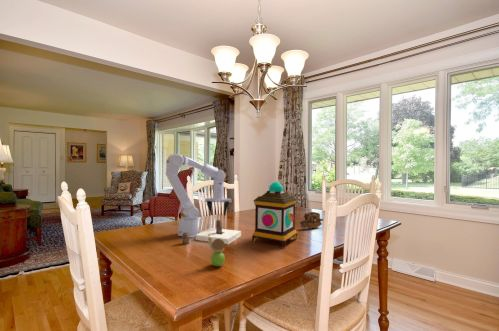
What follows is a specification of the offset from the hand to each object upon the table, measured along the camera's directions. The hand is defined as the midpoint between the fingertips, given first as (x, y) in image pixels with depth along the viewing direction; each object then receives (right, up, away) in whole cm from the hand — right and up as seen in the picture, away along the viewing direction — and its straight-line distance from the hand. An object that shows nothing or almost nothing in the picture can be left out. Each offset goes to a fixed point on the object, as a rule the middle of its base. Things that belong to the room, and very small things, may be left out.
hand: (218, 215), depth 147 cm
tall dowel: (+2, -10, -11) cm, 15 cm away
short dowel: (-13, -10, -22) cm, 27 cm away
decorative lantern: (+31, -10, -15) cm, 35 cm away
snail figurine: (+5, -10, -48) cm, 49 cm away
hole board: (+2, -10, -11) cm, 15 cm away
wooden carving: (+55, -10, +11) cm, 57 cm away
